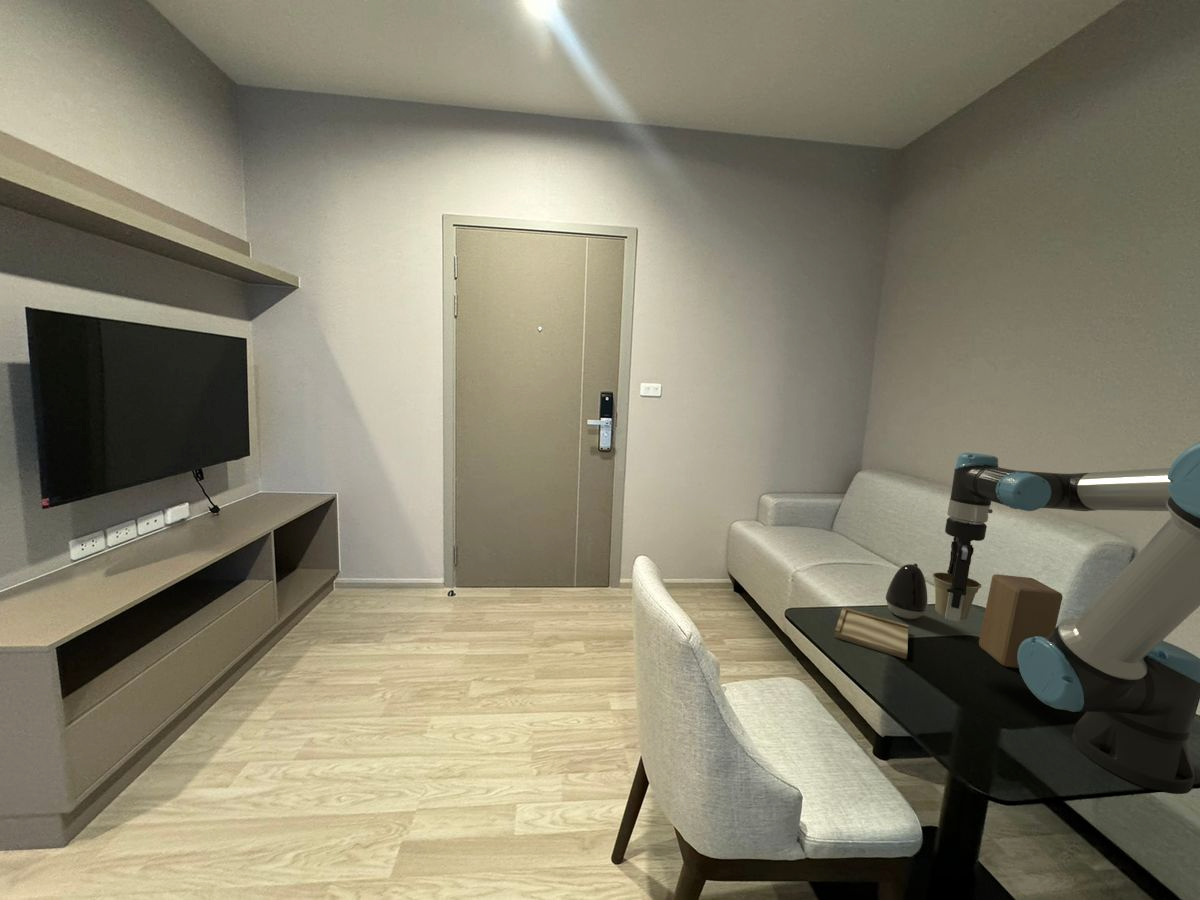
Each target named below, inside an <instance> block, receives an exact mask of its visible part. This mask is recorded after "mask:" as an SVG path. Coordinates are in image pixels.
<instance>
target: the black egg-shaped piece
mask: <svg viewBox="0 0 1200 900" xmlns="http://www.w3.org/2000/svg"><path fill="white" fill-rule="evenodd" d="M927 589H928V588H927V582H926V578H925V576H924V573H923V571H922V569H921V568H920V567H918V564H917V563H913V564H911V563H908V564H904V565H902V566H901V567H900V568H899V569H898V570H897V571H896V573H895V574H894V575H893V577H892V580H891V582H890V584H889V586H888V587H887V592H886V594H885V600H886V604H887V607H888V610H889V611H890V612H891V613H892V614H894V615H895V616H897V617H899V618H902V619H906V620H916V619H919V618H921V617H922V616H923V615H924V613H925V612H926V611H927V610H928V590H927Z"/></svg>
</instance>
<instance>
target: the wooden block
mask: <svg viewBox="0 0 1200 900" xmlns="http://www.w3.org/2000/svg"><path fill="white" fill-rule="evenodd" d="M989 586H990V587H989V591H988V596H987V602H986V606H985V611H984V614H983V615H984V616H983V620H982V626H981V630H980V634H979V640H978V645H979V647H980V648H981V649H982V650H983V651H984V652H986V653H987V654H988V655H989V656H991V657H992V658H993V659H994V660H995V661H996V662H998V663H999V664H1001V666H1004V667H1007V668H1013V669H1020V668H1019V664H1018V659H1017V654H1018V649H1019V646H1020V644H1021V643H1022V642H1023V641H1024V640H1026V639H1028V638H1032V637H1035V636H1038V637H1043V638H1045V637H1047V636H1049V635H1050V634H1051V633H1052V632H1053V631H1054V629H1055V628H1056V627H1057V624H1058V619H1059V615H1060V611H1061V605H1062V601H1063V594H1062V593H1061V592H1060V591H1057V590H1056V589H1054V588H1052V587H1050V586H1048V585H1046V584H1045V583H1042V582H1041V581H1039V580H1037V579H1035V578H1033V577H1028V576H1016V575H1008V574H1007V575H1006V574H998V573H997V574H993V575H992V576H991V581H990V585H989Z"/></svg>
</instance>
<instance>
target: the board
mask: <svg viewBox="0 0 1200 900" xmlns="http://www.w3.org/2000/svg"><path fill="white" fill-rule="evenodd" d="M833 637H834V638H836V639H839V640H842V641H845V642H849V643H852V644H856V645H859V646H862V647H864V648H867V649H871V650H875V651H878V652H881V653H884V654H887V655H889V656H894V657H898V658H900V659H903V660H907V657H908V646H909V645H908V643H909V642H908V641H909V625H908V624H904V623H901V622H899V621H898V622H897V621H895V620H891V619H887V618H883V617H879V616H876V615H872V614H870V613H869V614H868V613H865V612H861V611H858V610H854V609H850V608H847V607H844V606H842V609H841V611H840V614H839V618H838V621H837V624H836V625H835V629H834V636H833Z"/></svg>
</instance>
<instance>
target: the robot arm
mask: <svg viewBox="0 0 1200 900" xmlns="http://www.w3.org/2000/svg"><path fill="white" fill-rule="evenodd" d="M953 470H954V472H953V479H952V480H953V481H952V487H951V493H950V498H949V502H948V508H947V515H948V517H947V518H946V520H945V521H946V522H945V528H944V532H945V533H946V535H948V536H951V537H953V539H952V541H951V545H950V549H951V551H950V560H949V563H948V569H947V572H946V573H949V574H952V575H953V577H952V585H951V589H947V592H949V597H948V603H947V608H946V614H945V616H944V619H945V620H949V621H953V622H957V623H960V616H961V611H962V605H963V599H964V595H966V588H967V581H968V578H969V572H970V568H971V567H970V566H971V563H972V556H973V555H974V549H975V548H974V547H973V544H971V542H973V541H976V542H981V541H984V540H985V538H986V534H987V528H988V526H987V524H986V523H987V522H988V520H989V514H993V509H992V508H991V505H992V503H996V504H1000V505H1003V506H1005V507H1009V508H1010V509H1013V510H1021V511H1026V512H1035V511H1037V510H1039V509H1055V510H1064V511H1065V510H1066V511H1067V510H1068V511H1077V512H1091V511H1093V512H1094V511H1129V512H1130V511H1131V512H1133V511H1135V512H1136V511H1137V512H1139V511H1140V512H1141V511H1143V512H1169V514H1170V516H1171V517H1170V518H1169V519H1168V520H1167V521H1166V523H1164V524H1163V526H1161V528H1160V529H1159V530H1158V531H1157V532H1156V533H1155V535H1154V536H1153V537H1152V538H1151V539H1150V540H1149V542H1147V544H1146V545H1145V546H1144V547H1143V548H1142V549H1141V550H1140V552H1139V553H1138V554H1137V555H1136V556H1135V557H1134V558H1132V560H1131V562H1130V563H1129V564H1127V566H1126V567H1125V568H1124V569H1123V571H1122V572H1121V573H1120V574H1119V575H1118V576H1117V577H1116V578H1115V579H1114V580H1113V581H1112V583H1110V585H1108V587H1106V589H1105V590H1104V591H1103V592H1102V594H1101V595H1100V596H1099V597H1098V598H1097V599H1096V601H1094V602H1093V604H1092V605H1090V607H1089V608H1088V609H1087V611H1086V612H1084V613H1083V615H1082V616H1081V617H1080V618H1073V617H1072V618H1067V619H1064V620H1062V621H1060V622H1059V624H1058V625H1056V628H1055V629H1054V631H1053V632H1052V633H1051V634H1050V635H1049V636H1047V637H1045V638H1043V637H1038V636H1035V637H1032V638H1028V639H1026V640H1024V641H1023V642H1022V643H1021V644H1020V646H1019V649H1018V654H1017V659H1018V664H1019V668H1018V669H1019V673H1020V675H1021V677H1022V680H1023V682H1024V683H1025V685H1026V687H1027V688H1028V689H1029V690H1030V692H1031V693H1032V694H1033V696H1035V697H1036V698H1037V699H1038V700H1039V701H1040V702H1042V703H1043V704H1045V705H1047V706H1049V707H1051V708H1054V709H1057V710H1064V711H1069V712H1072V713H1075V712H1084V714H1083V715H1082V716H1081V718H1079V720H1077V722H1076V723H1075V725H1074V728H1073V731H1072V736H1071V737H1072V741H1073V743H1074V745H1075V746H1076V748H1078V749H1079V750H1080V752H1082V753H1083V755H1085V756H1086V757H1087V758H1089V759H1090V760H1091V761H1092V762H1094V763H1095V764H1098V765H1099V766H1100V767H1102V768H1103V769H1105V770H1107V771H1109V772H1111V773H1112V774H1114V775H1116V776H1118V777H1121V778H1122V779H1124V780H1127V781H1129V782H1132V783H1134V784H1137V785H1139V786H1141V787H1144V788H1147V789H1151V790H1153V791H1157V790H1164V791H1160V792H1161V793H1166V794H1172V795H1184V794H1188V793H1190V792H1191V791H1192V789H1193V786H1194V781H1195V775H1196V774H1195V769H1194V764H1193V760H1192V756H1191V752H1190V751H1191V750H1190V746H1189V738H1190V734H1191V731H1192V727H1193V724H1194V721H1195V717H1196V713H1197V710H1198V707H1199V704H1200V657H1198V656H1197V655H1196V654H1194V653H1191V652H1190V651H1188V650H1186V649H1184V648H1181V647H1179V646H1177V645H1175V644H1172V643H1170V642H1168V641H1165V639H1166V638H1167V637H1168V636H1169V635H1170V634H1172V632H1173V631H1174V630H1175V629H1177V627H1178V626H1180V625H1181V624H1182V623H1183V622H1184V621H1185V620H1186V619H1187V618H1188V617H1189V616H1190V615H1191V614H1193V613H1194V612H1195V611H1197V609H1198V608H1199V607H1200V441H1198V442H1196V443H1194V444H1192V445H1190V446H1189V447H1187V448H1186V449H1185V450H1183V451H1182V452H1181V453H1180V454H1179V455H1178V456H1177V457H1176V458H1175V459H1174V461H1173V462H1172V464H1171V466H1170V467H1165V468H1164V467H1162V468H1161V467H1160V468H1149V469H1147V468H1145V469H1131V470H1128V469H1127V470H1116V471H1114V470H1113V471H1098V472H1078V473H1076V472H1075V473H1061V472H1059V473H1057V472H1044V471H1043V472H1042V471H1030V470H1029V471H1027V470H1015V469H1009V468H1004V467H999V458H998V457H996V456H995V455H992V454H991V455H990V454H985V453H984V454H983V453H975V452H962V453H960V454H959V455H958V457H957V460H956V464H955V467H954V469H953ZM959 588H961V589H959Z"/></svg>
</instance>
